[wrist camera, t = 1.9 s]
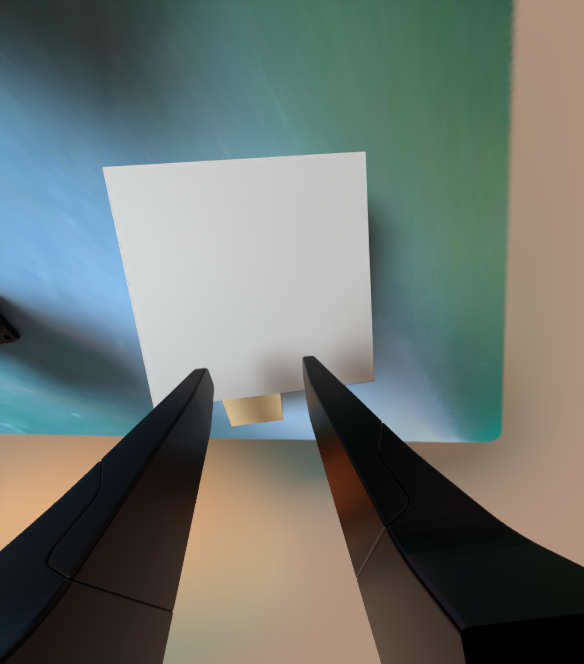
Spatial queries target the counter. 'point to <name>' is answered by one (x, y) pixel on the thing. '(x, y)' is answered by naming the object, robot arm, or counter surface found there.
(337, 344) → the lid
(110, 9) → the counter surface
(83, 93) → the counter surface
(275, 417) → the block
